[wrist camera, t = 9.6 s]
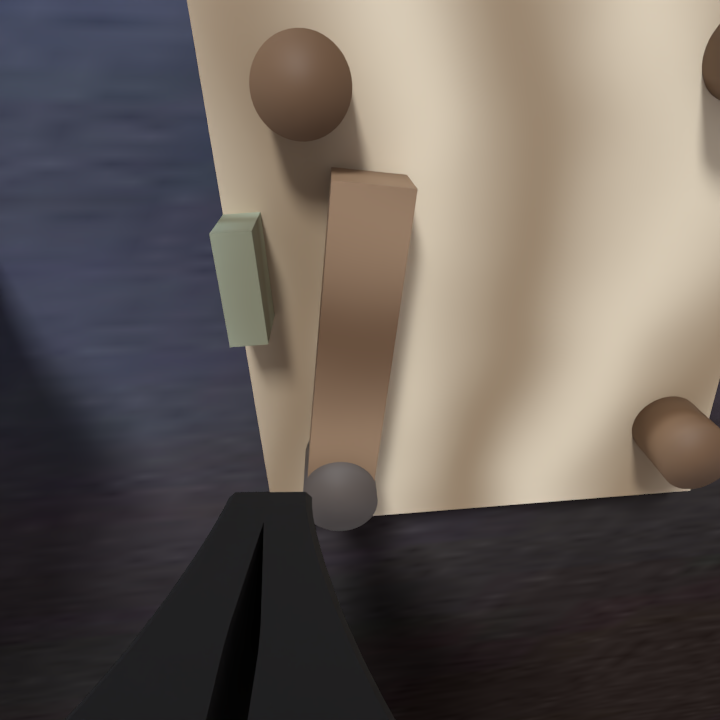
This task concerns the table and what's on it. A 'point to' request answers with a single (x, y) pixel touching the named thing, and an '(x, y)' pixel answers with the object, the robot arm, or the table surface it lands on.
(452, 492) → the stool seat
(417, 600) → the table surface
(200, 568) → the robot arm
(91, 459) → the table surface
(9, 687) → the table surface
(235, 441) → the table surface
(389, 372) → the folding leg
